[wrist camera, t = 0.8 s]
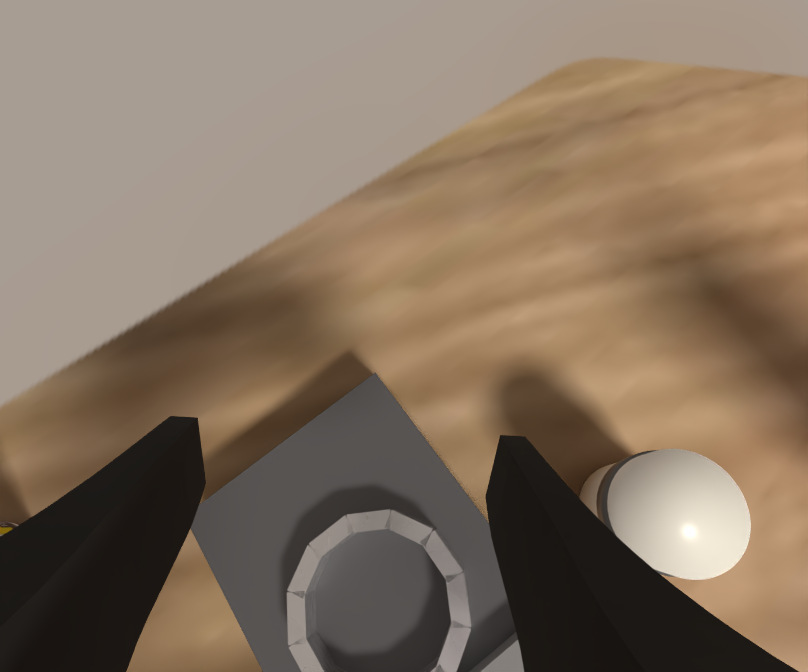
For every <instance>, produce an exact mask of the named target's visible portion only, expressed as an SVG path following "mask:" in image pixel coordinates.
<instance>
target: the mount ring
mask: <svg viewBox="0 0 808 672" xmlns="http://www.w3.org/2000/svg"><path fill="white" fill-rule="evenodd" d="M381 529H390V530H392V531H394V532H396V533H398V534H400V535H402V536H404V537H406V538H408V539H410V540H412V541H415V542H417V543H419V544H421V545H422V546H423V547H424V549H425V550H426V551H427V553H428V554H429V556H430V557H431V559H432V560H433V562H434V563H435V565H436V566H437V568H438V569H439V570H440V572H441V573H442V575H443V576H444V578H445V579H446V585H447V593H448V601H449V609H450V616H451V622H450V625H449V628H448V631H447V634H446V636H445V639H444V642H443V645H442V648H441V650H440V653H439V656H438V657H437V658H435V659H434V660H433V661H432V662H431V663H430V664H428V665H427V666H426V667H425V668H424V669H422V670H421V671H420V672H457V669H458V666H459V663H460V660H461V657H462V655H463V652H464V649H465V646H466V643H467V640H468V637H469V634H470V631H471V613H470V606H469V599H468V592H467V585H466V578H465V571H464V569H463V566H462V564H461V563H460V561H459V560H458V558H457V557H456V556H455V554H454V553H453V551H452V550H451V549H450V547H449V546H448V544H447V543H446V541H445V540H444V539H443V537H442V536H441V534H440V533H439V532H438V530H437V529H435V527H433V526H431V525H429V524H427V523H424V522H422V521H420V520H418V519H416V518H414V517H412V516H409V515H407V514H405V513H403V512H401V511H399V510H397V509H388V510H380V511H372V512H363V513H355V514H347V515H345V516H343V517H342V518H341V519H339V520H338V521H337V522H336V523H334V524H333V525H332V526H331V527H329V528H328V529H327V530H325V531H324V532H323V533H322V534H320V535H319V536H318V537H316V538H315V539H314V540H313V541H311V542H310V543H309V545H307V547H306V550H305V552H304V554H303V556H302V559H301V561H300V563H299V565H298V567H297V570H296V572H295V574H294V576H293V579H292V581H291V583H290V585H289V587H288V590H287V591H289V592H287V623H288V645H291V646H290V647H289V649H290V651H291V653H292V655H293V657H294V659H295V660H296V662H297V664H298V666H299V668H300V670H301V672H347V671H345V670H343V669H341V668H340V667H338V666H336V664H335V662H334V660H333V658H332V657H331V655H330V653H329V651H328V650H327V648H326V646H325V644H324V642H323V641H322V639H321V637H320V635H319V634H318V632H317V626H316V603H315V588H316V586H317V584H318V581H319V579H320V577H321V574H322V572H323V570H324V567H325V565H326V563H327V561H328V558H329V556H330V554H331V553H332V552H333V551H335V550H336V549H337V548H338V547H340V546H341V545H342V544H343V543H345V542H346V541H347V540H349V539H350V538H351V537H352V536H354V535H355V534H356V533H357V532H364V531H373V530H381ZM434 529H435V530H434Z"/></svg>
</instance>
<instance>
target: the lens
mask: <svg viewBox="0 0 808 672" xmlns="http://www.w3.org/2000/svg"><path fill="white" fill-rule="evenodd" d="M579 499H580V500H581V501H582V502H583V503H584V504H585V505H586V506H587V507H588V508H589V509H590V510H591V511H592V512H593V513H594V514H595V515H596V516H597V517H598V518H599V519H600V520H601V521H602V522H603V523H604V524H605V525H606V526H607V527H608V528H609V529H610V530H611V531H612V532H613V533H614V534H615V535H616V536H617V537H618V538H619V539H620V540H621V541H622V542H623V543H624V544H626V545H627V546H628V547H629V548H630V549H631V550H632V551H633V552H635V553H636V554H637V555H638V556H639V557H640V558H641V559H643V560H644V561H645V562H646V563H647V564H648V565H650V566H651V567H652V568H653V569H654V570H655V571H657V572H658V573H659V574H661V575H666V576H671V577H679V578H684V579H691V580H702V579H708V578H713V577H716V576H719V575H721V574H723V573H725V572H727V571H728V570H729V569H731V568H732V567H733V566H734V565H735V564H736V563H737V562H738V561H739V560H740V558H741V557H742V556H743V554H744V552H745V550H746V548H747V545H748V542H749V538H750V531H751V521H750V514H749V510H748V506H747V503H746V501H745V498H744V496H743V494H742V492H741V490H740V488H739V487H738V485H737V484H736V483H735V481H734V480H733V479H732V478H731V476H730V475H729V474H728V473H727V472H726V471H725V470H724V469H722V468H721V467H720V466H719V465H717V464H716V463H715V462H713V461H712V460H710V459H708V458H706V457H704V456H702V455H700V454H698V453H695V452H691V451H688V450H682V449H662V450H654V451H646V452H641V453H638V454H635V455H632V456H629V457H626V458H624V459H622V460H620V461H618V462H617V463H614V464H610V465H607V466H604V467H602V468H600V469H598V470H596V471H595V472H594V473H592V474H591V475H590V476H589V477H588V479H587V480H586V481H585V483H584V485H583V487H582V489H581V492H580V496H579Z"/></svg>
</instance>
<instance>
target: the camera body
mask: <svg viewBox="0 0 808 672" xmlns="http://www.w3.org/2000/svg"><path fill="white" fill-rule="evenodd" d="M388 509H397V510H399V511H401V512H403V513H405V514H407V515H409V516H412V517H414V518H416V519H418V520H420V521H422V522H424V523H427V524H429V525H431V526H433V527H435V529H437V530H438V532H439V533H440V534H441V536H442V537H443V539H444V540H445V541H446V543H447V544H448V546H449V547H450V549H451V550H452V551H453V553H454V554H455V556H456V557H457V558H458V560H459V561H460V563H461V564H462V566H463V569H464V571H465V578H466V585H467V592H468V599H469V606H470V613H471V631H470V634H469V637H468V640H467V643H466V646H465V649H464V652H463V655H462V657H461V660H460V663H459V666H458V669H457V672H524V668H523V662H522V656H521V651H520V646H519V642H518V637H517V633H516V629H515V625H514V621H513V617H512V614H511V610H510V606H509V603H508V599H507V595H506V591H505V588H504V584H503V580H502V576H501V573H500V569H499V565H498V561H497V557H496V554H495V550H494V546H493V542H492V538H491V532H490V526H489V523H488V522H487V520H486V519H485V518H484V516H483V515H482V514H481V513H480V511H479V510H478V509H477V507H476V506H475V505H474V503H473V502H472V501H471V499H470V498H469V497H468V495H467V494H466V493H465V491H464V490H463V489H462V487H461V486H460V485H459V483H458V482H457V481H456V479H455V478H454V477H453V475H452V474H451V473H450V471H449V470H448V469H447V467H446V466H445V465H444V463H443V462H442V461H441V459H440V458H439V457H438V455H437V454H436V453H435V451H434V450H433V449H432V447H431V446H430V445H429V443H428V442H427V441H426V439H425V438H424V437H423V435H422V434H421V433H420V431H419V430H418V429H417V427H416V426H415V425H414V423H413V422H412V421H411V419H410V418H409V417H408V415H407V414H406V413H405V411H404V410H403V409H402V408H401V406H400V405H399V404H398V402H397V401H396V400H395V398H394V397H393V396H392V394H391V393H390V392H389V390H388V389H387V388H386V386H385V385H384V384H383V382H382V381H381V380H380V378H379V377H378V376H377V374H376V373H374V374H373V375H371V376H370V377H369V378H367V379H366V380H365V381H363V382H362V383H361V384H359V385H358V386H357V387H355V388H354V389H353V390H351V391H350V392H349V393H347V394H346V395H345V396H343V397H342V398H341V399H339V400H338V401H337V402H335V403H334V404H333V405H331V406H330V407H329V408H327V409H326V410H325V411H323V412H322V413H321V414H319V415H318V416H317V417H315V418H314V419H313V420H311V421H310V422H309V423H307V424H306V425H305V426H303V427H302V428H301V429H299V430H298V431H297V432H295V433H294V434H293V435H291V436H290V437H289V438H287V439H286V440H285V441H283V442H282V443H281V444H279V445H278V446H277V447H275V448H274V449H273V450H272V451H270V452H269V453H268V454H266V455H265V456H264V457H262V458H261V459H260V460H258V461H257V462H256V463H254V464H253V465H252V466H250V467H249V468H248V469H246V470H245V471H244V472H242V473H241V474H240V475H238V476H237V477H236V478H234V479H233V480H232V481H230V482H229V483H228V484H226V485H225V486H224V487H222V488H221V489H220V490H218V491H217V492H216V493H214V494H213V495H212V496H210V497H209V498H208V499H206V500H205V501H204V502H202V503H201V504H200V505H199V506H198V509H197V512H196V515H195V518H194V521H193V523H192V526H191V530H192V532H193V534H194V536H195V538H196V540H197V542H198V544H199V546H200V548H201V550H202V552H203V554H204V556H205V558H206V560H207V562H208V564H209V566H210V568H211V570H212V572H213V574H214V576H215V578H216V580H217V581H218V583H219V585H220V587H221V589H222V591H223V593H224V595H225V597H226V599H227V601H228V603H229V605H230V607H231V609H232V611H233V613H234V615H235V617H236V619H237V621H238V623H239V625H240V627H241V629H242V631H243V633H244V635H245V637H246V639H247V641H248V643H249V645H250V647H251V649H252V651H253V653H254V655H255V657H256V659H257V661H258V663H259V665H260V667H261V669H262V671H263V672H301V670H300V668H299V666H298V664H297V662H296V660H295V659H294V657H293V655H292V653H291V651H290V649H289V647H290V646H291V645H288V623H287V592H289V591H287V590H288V587H289V585H290V583H291V581H292V579H293V576H294V574H295V572H296V570H297V567H298V565H299V563H300V561H301V559H302V556H303V554H304V552H305V550H306V547H307V545H309V543H310V542H311V541H313V540H314V539H315V538H316V537H318V536H319V535H320V534H322V533H323V532H324V531H325V530H327V529H328V528H329V527H331V526H332V525H333V524H334V523H336V522H337V521H338V520H339V519H341V518H342V517H343V516H345V515H347V514H355V513H363V512H372V511H380V510H388ZM435 529H434V530H435ZM315 603H316V626H317V632H318V634H319V635H320V637H321V639H322V641H323V642H324V644H325V646H326V648H327V650H328V651H329V653H330V655H331V657H332V658H333V660H334V662H335V664H336V666H338V667H340V668H341V669H343V670H345V671H347V672H420V671H421V670H422V669H424V668H425V667H426V666H427V665H428V664H430V663H431V662H432V661H433V660H434V659H435V658H437V657H438V656H439V653H440V650H441V648H442V645H443V642H444V639H445V636H446V634H447V631H448V628H449V625H450V622H451V616H450V609H449V601H448V593H447V585H446V579H445V578H444V576H443V575H442V573H441V572H440V570H439V569H438V568H437V566H436V565H435V563H434V562H433V560H432V559H431V557H430V556H429V554H428V553H427V551H426V550H425V549H424V547H423V546H422V545H421V544H419V543H417V542H415V541H412V540H410V539H408V538H406V537H404V536H402V535H400V534H398V533H396V532H394V531H392V530H390V529H381V530H373V531H364V532H357V533H356V534H355V535H354V536H352V537H351V538H350V539H349V540H347V541H346V542H345V543H343V544H342V545H341V546H340V547H338V548H337V549H336V550H335V551H333V552H332V553H331V554H330V556H329V558H328V561H327V563H326V565H325V567H324V570H323V572H322V574H321V577H320V579H319V581H318V584H317V586H316V588H315Z"/></svg>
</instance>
